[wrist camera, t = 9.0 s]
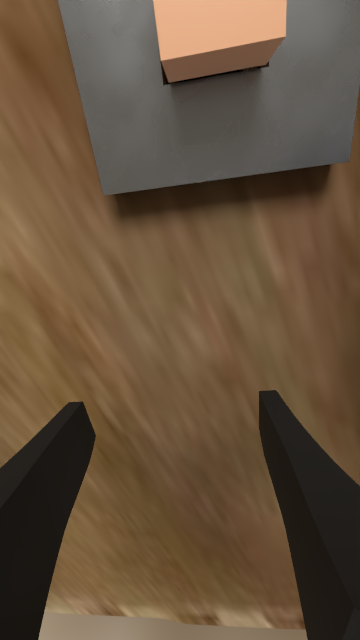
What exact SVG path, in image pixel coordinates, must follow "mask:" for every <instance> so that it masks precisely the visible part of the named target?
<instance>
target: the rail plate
mask: <svg viewBox="0 0 360 640" xmlns="http://www.w3.org/2000/svg"><path fill="white" fill-rule="evenodd" d="M58 2H59V7H60V11H61V15H62V19H63V24H64V28H65V32H66V37H67V41H68V45H69V49H70V54H71V58H72V62H73V67H74V71H75V75H76V79H77V84H78V88H79V92H80V97H81V101H82V105H83V109H84V114H85V118H86V122H87V127H88V131H89V135H90V139H91V144H92V148H93V152H94V157H95V161H96V165H97V169H98V174H99V178H100V182H101V187H102V191H103V195H111V194H118V193H126V192H133V191H140V190H147V189H155V188H162V187H169V186H176V185H184V184H191V183H198V182H205V181H212V180H220V179H227V178H234V177H241V176H249V175H256V174H263V173H270V172H278V171H285V170H292V169H299V168H307V167H314V166H321V165H328V164H335V163H343V162H349V161H350V153H351V145H352V138H353V130H354V122H355V114H356V107H357V99H358V91H359V83H360V0H287V7H286V37H285V38H284V40H283V41H282V42H281V44H280V45H279V47H278V48H277V50H276V51H275V52H274V54H273V55H272V57H271V58H270V60H269V61H268V62H267V64H266V65H261V66H260V68H259V69H253V70H248V71H242V72H236V73H231V74H225V75H219V76H214V77H208V78H202V79H197V80H191V81H185V82H180V83H174V84H168V85H166V78H165V71H164V68H163V65H162V63H161V58H160V50H159V42H158V35H157V27H156V19H155V11H154V3H153V0H58Z"/></svg>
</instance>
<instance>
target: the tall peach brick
mask: <svg viewBox="0 0 360 640" xmlns="http://www.w3.org/2000/svg"><path fill="white" fill-rule="evenodd" d="M153 3H154V11H155V19H156V27H157V35H158V42H159V50H160V58H161V63H162V65H163V68H164V71H165V74H166V76H167V79H168V82H169V83H170V82H175V81H181V80H186V79H191V78H197V77H202V76H207V75H213V74H218V73H224V72H229V71H234V70H240V69H245V68H250V67H256V66H261V65H266V64H267V62H268V61H269V60H270V58H271V57H272V55H273V54H274V52H275V51H276V50H277V48H278V47H279V45H280V44H281V42H282V41H283V40H284V38H285V37H286V7H287V0H153Z"/></svg>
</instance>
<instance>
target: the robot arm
mask: <svg viewBox="0 0 360 640" xmlns="http://www.w3.org/2000/svg"><path fill="white" fill-rule="evenodd" d="M259 430H260V435H261V441H262V446H263V451H264V456H265V459H266V463H267V466H268V469H269V473H270V476H271V480H272V483H273V486H274V490H275V493H276V496H277V500H278V503H279V507H280V510H281V513H282V517H283V521H284V525H285V528H286V533H287V538H288V543H289V547H290V552H291V557H292V562H293V567H294V572H295V577H296V582H297V587H298V592H299V596H300V602H301V607H302V612H303V617H304V622H305V628H306V632H307V638H308V640H360V486H359V485H358V484H357V483H356V482H355V481H354V480H353V479H352V478H351V477H350V476H348V475H347V474H346V473H345V472H344V471H343V470H342V469H341V468H340V467H339V466H338V465H337V464H336V463H335V462H334V461H333V460H332V459H331V458H330V457H329V455H328V454H327V453H326V452H325V451H324V450H323V449H322V448H321V447H320V446H319V445H318V443H317V442H316V441H315V440H314V439H313V438H312V437H311V435H310V434H309V433H308V432H307V431H306V429H305V428H304V427H303V426H302V425H301V423H300V422H299V421H298V420H297V418H296V417H295V416H294V414H293V413H292V412H291V410H290V409H289V408H288V406H287V405H286V404H285V402H284V401H283V399H282V398H281V396H280V395H279V393H278V392H277V391H276V390H271V391H259ZM95 437H96V435H95V432H94V430H93V427H92V424H91V422H90V419H89V416H88V414H87V411H86V409H85V406H84V403H83V402H69V403H68V404H67V405H66V406H65V407H64V408H63V409H62V410H61V411H60V412H59V413H58V414H57V415H56V416H55V417H54V418H53V419H52V420H51V421H50V422H49V423H48V424H47V425H46V426H45V427H44V428H43V429H42V430H41V431H40V432H39V433H38V434H37V435H35V436H34V437H33V438H32V439H31V440H30V441H29V442H28V443H27V444H26V445H25V446H24V447H23V448H22V449H21V450H20V451H19V452H18V453H17V454H15V455H14V456H13V457H12V458H11V459H10V460H9V461H8V462H7V463H6V464H5V465H3V466H2V467H1V468H0V640H38V638H39V632H40V628H41V623H42V619H43V615H44V610H45V606H46V601H47V597H48V592H49V588H50V584H51V580H52V576H53V572H54V568H55V564H56V560H57V557H58V553H59V549H60V546H61V542H62V538H63V535H64V531H65V528H66V525H67V522H68V519H69V516H70V513H71V511H72V508H73V505H74V503H75V500H76V497H77V495H78V492H79V489H80V487H81V484H82V481H83V479H84V476H85V473H86V470H87V468H88V465H89V462H90V458H91V455H92V451H93V446H94V442H95Z"/></svg>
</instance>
